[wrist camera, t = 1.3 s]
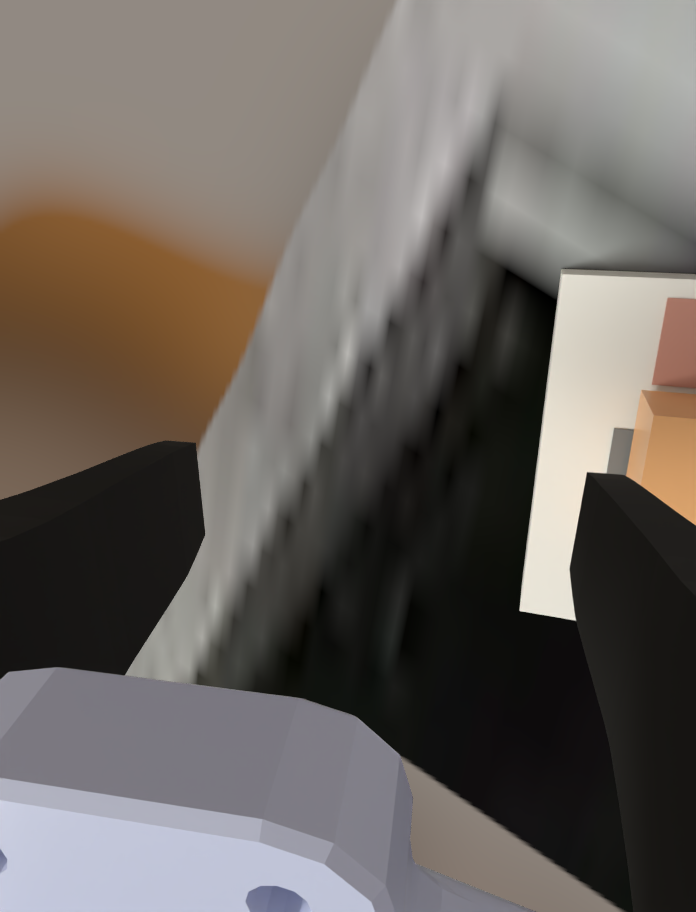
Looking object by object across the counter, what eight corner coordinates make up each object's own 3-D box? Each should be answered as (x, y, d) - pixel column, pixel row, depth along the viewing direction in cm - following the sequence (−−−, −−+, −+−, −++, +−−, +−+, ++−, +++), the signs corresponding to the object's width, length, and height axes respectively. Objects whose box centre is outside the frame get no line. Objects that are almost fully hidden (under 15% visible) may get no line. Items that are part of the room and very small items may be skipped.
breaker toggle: (721, 563, 19) (743, 611, 17) (613, 548, 20) (620, 592, 18) (761, 399, 18) (792, 427, 15) (641, 389, 18) (653, 415, 16)
